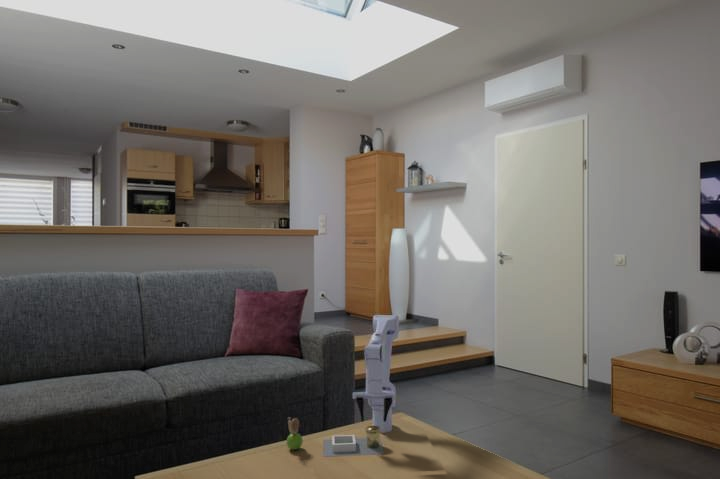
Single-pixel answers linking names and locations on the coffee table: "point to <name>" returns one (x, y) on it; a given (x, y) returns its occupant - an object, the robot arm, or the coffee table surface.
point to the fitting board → (348, 446)
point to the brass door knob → (372, 436)
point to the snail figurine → (294, 435)
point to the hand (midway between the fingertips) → (373, 420)
